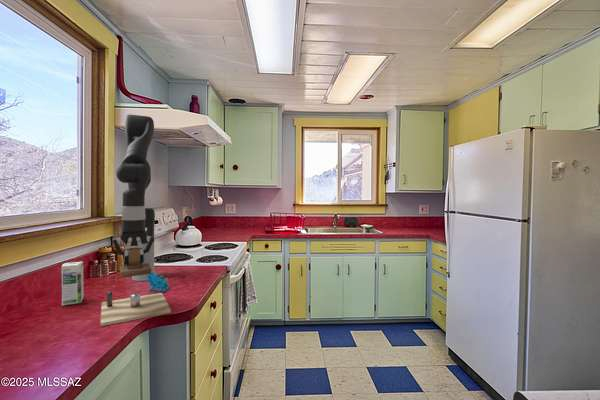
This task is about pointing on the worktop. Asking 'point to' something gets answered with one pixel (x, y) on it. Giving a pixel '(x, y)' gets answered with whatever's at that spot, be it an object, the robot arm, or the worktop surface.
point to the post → (134, 300)
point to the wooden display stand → (134, 265)
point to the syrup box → (72, 283)
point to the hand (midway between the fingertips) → (133, 264)
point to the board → (133, 309)
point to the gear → (157, 282)
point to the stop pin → (109, 299)
